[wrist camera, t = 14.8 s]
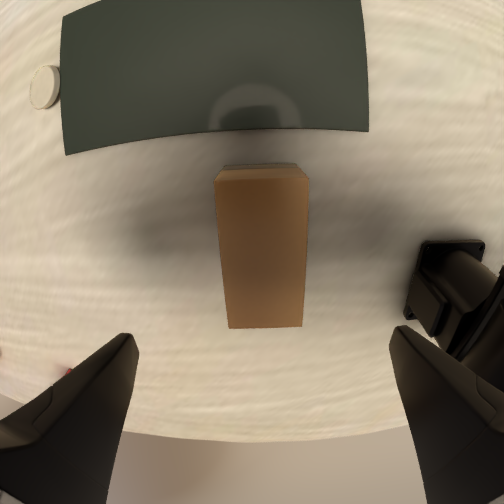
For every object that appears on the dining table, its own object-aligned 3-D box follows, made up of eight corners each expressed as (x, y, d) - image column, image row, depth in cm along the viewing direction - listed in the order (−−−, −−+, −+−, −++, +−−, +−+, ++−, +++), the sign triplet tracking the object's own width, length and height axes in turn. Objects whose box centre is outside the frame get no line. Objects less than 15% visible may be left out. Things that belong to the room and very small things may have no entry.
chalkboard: (354, -19, 10) (357, -22, 9) (365, 131, 14) (369, 132, 14) (67, 18, 10) (62, 16, 10) (70, 154, 15) (65, 155, 14)
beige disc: (61, 59, 11) (54, 59, 11) (61, 102, 13) (54, 103, 12) (35, 74, 12) (29, 74, 12) (36, 113, 13) (30, 114, 13)
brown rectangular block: (296, 163, 15) (308, 177, 12) (294, 287, 19) (302, 327, 15) (223, 165, 15) (213, 180, 12) (233, 288, 19) (228, 329, 15)
